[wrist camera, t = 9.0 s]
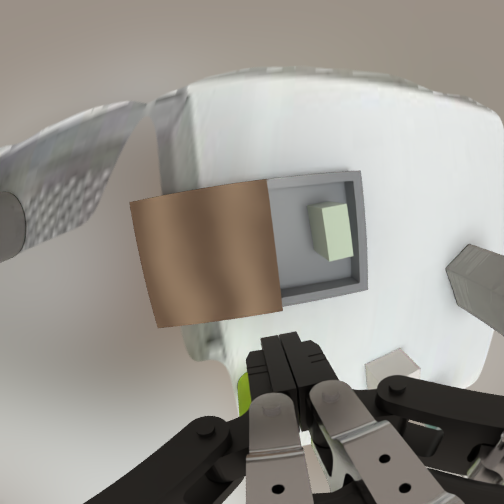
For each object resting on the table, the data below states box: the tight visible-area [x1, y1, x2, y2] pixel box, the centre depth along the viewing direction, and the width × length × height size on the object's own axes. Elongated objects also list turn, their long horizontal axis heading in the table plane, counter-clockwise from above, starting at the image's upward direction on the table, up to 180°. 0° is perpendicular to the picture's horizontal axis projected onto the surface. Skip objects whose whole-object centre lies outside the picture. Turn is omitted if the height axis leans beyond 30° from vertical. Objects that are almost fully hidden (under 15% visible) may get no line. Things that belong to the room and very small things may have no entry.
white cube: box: [365, 348, 421, 390], centre depth 34 cm, size 6×6×6 cm
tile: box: [307, 201, 353, 262], centre depth 28 cm, size 5×5×2 cm
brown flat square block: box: [130, 179, 283, 328], centre depth 28 cm, size 13×13×4 cm
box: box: [267, 170, 368, 307], centre depth 29 cm, size 10×13×3 cm
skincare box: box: [446, 244, 504, 336], centre depth 27 cm, size 8×7×16 cm
